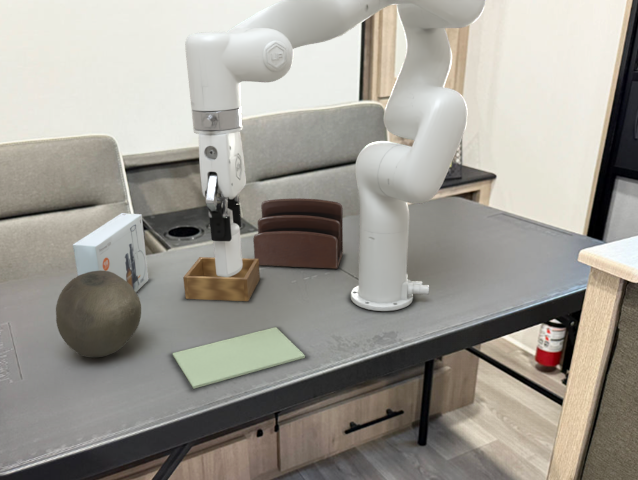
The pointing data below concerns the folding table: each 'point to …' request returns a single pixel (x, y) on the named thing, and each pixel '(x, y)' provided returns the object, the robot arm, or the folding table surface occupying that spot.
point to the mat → (236, 357)
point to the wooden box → (221, 281)
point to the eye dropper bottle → (229, 252)
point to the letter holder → (300, 233)
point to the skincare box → (115, 250)
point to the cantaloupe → (97, 313)
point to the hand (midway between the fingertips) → (226, 232)
